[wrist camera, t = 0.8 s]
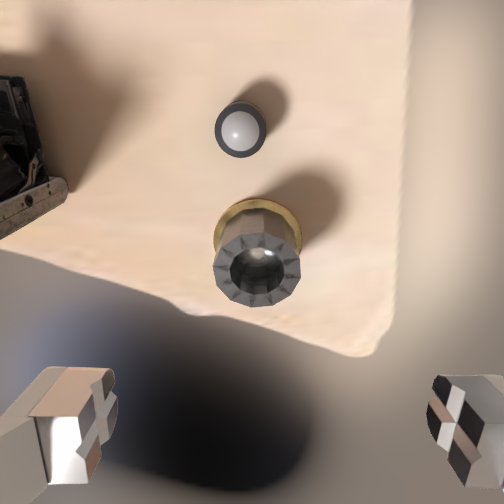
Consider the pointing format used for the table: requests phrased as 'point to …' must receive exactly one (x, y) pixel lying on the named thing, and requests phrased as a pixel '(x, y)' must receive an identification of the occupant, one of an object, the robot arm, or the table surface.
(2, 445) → the robot arm
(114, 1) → the table surface
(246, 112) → the camera lens
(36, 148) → the vintage camera
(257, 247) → the lens barrel
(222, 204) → the table surface
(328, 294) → the table surface
